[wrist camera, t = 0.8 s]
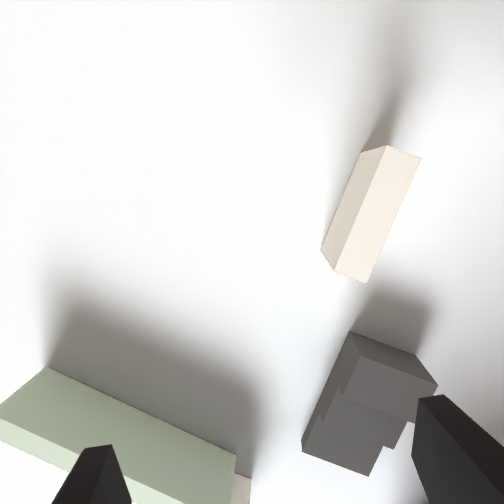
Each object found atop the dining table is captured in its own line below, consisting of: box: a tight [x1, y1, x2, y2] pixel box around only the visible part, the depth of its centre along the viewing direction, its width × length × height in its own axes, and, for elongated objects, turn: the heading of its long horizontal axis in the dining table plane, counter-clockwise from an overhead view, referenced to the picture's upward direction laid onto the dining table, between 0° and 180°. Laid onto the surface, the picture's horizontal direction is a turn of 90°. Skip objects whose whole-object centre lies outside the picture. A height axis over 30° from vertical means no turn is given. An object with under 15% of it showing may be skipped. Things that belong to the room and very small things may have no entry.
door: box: [0, 367, 237, 504], centre depth 25 cm, size 14×2×6 cm, turn 65°
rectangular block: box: [230, 145, 422, 504], centre depth 24 cm, size 28×2×6 cm, turn 160°
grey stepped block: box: [301, 331, 438, 477], centre depth 25 cm, size 8×4×4 cm, turn 160°
